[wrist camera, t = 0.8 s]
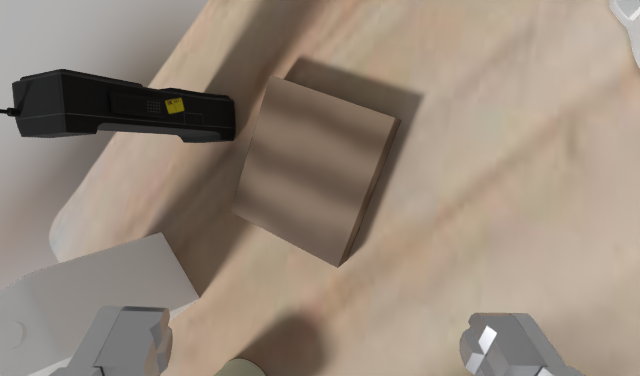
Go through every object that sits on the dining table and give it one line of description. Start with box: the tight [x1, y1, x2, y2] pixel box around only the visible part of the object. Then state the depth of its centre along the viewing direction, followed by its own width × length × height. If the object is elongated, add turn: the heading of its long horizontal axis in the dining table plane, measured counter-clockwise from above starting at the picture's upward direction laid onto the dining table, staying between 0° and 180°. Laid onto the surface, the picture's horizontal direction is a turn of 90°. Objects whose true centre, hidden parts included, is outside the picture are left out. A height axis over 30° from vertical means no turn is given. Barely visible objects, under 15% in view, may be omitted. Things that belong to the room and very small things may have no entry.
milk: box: [0, 232, 200, 376], centre depth 47 cm, size 12×12×26 cm
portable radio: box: [0, 69, 235, 143], centre depth 40 cm, size 8×6×25 cm
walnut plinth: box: [231, 75, 401, 268], centre depth 44 cm, size 18×16×3 cm
